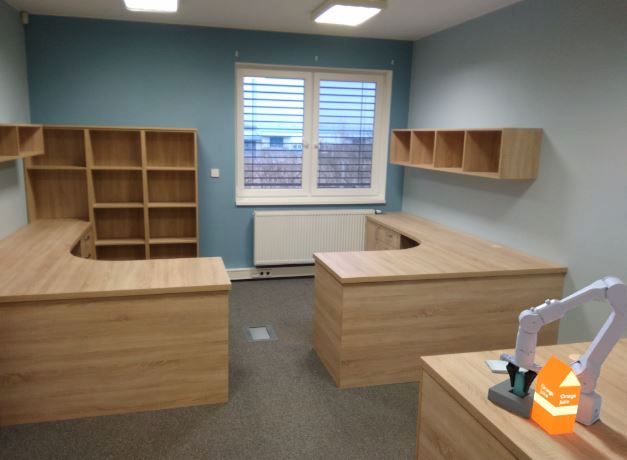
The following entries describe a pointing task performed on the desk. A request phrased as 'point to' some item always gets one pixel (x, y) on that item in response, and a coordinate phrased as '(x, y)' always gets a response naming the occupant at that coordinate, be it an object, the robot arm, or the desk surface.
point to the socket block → (512, 398)
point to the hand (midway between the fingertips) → (519, 389)
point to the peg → (519, 384)
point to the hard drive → (499, 366)
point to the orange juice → (556, 397)
